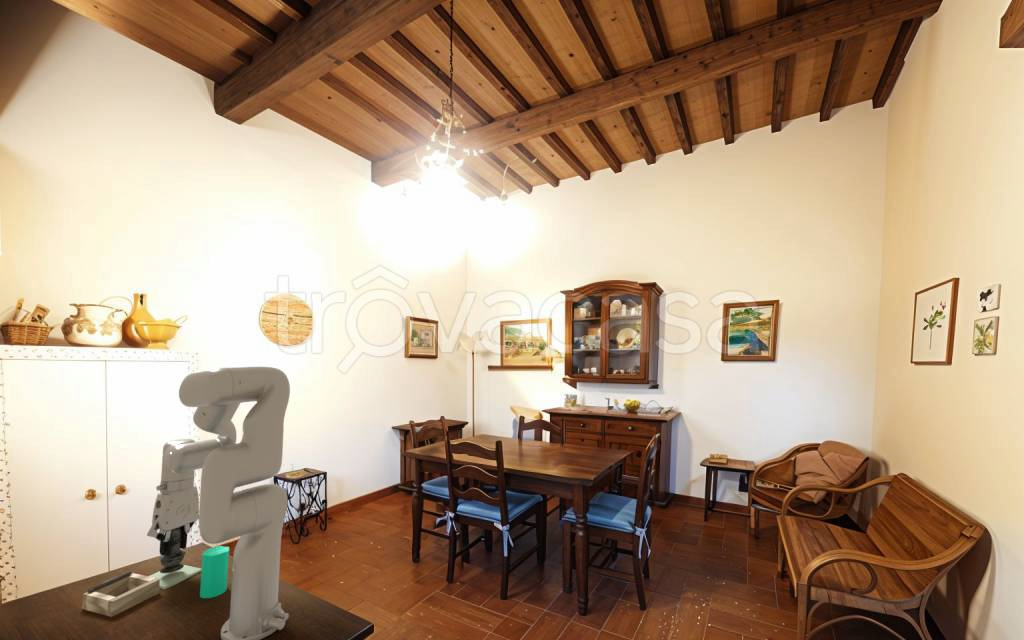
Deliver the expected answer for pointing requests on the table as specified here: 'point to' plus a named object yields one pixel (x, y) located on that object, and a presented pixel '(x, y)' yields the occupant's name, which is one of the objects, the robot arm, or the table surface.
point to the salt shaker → (173, 554)
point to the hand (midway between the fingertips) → (173, 550)
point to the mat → (175, 576)
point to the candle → (214, 572)
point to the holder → (104, 593)
